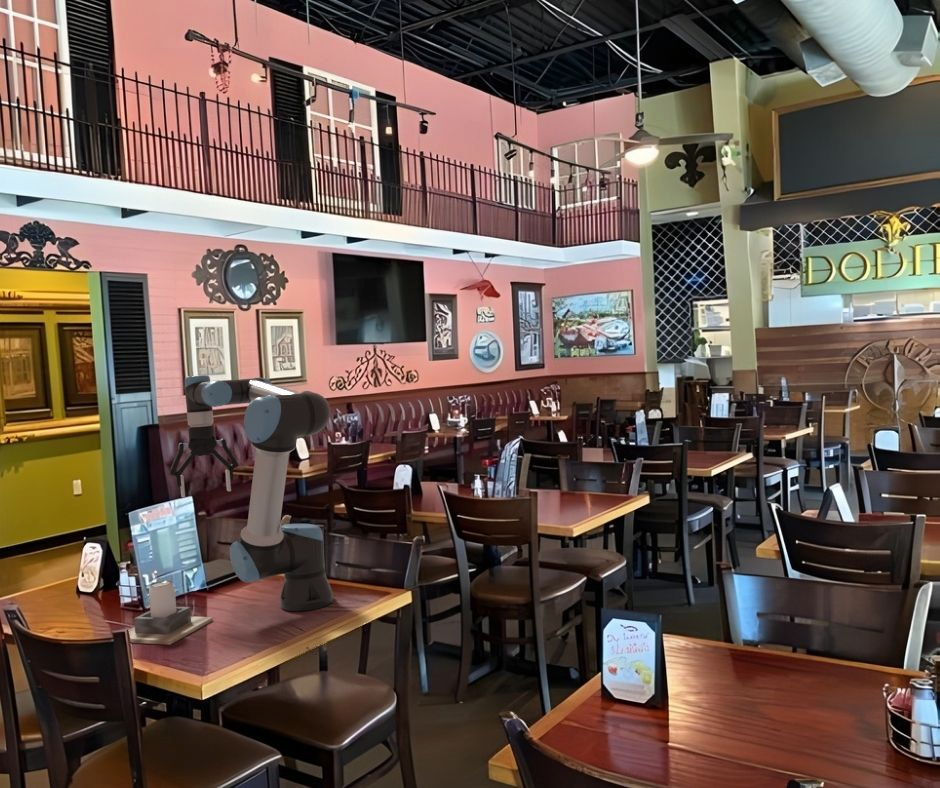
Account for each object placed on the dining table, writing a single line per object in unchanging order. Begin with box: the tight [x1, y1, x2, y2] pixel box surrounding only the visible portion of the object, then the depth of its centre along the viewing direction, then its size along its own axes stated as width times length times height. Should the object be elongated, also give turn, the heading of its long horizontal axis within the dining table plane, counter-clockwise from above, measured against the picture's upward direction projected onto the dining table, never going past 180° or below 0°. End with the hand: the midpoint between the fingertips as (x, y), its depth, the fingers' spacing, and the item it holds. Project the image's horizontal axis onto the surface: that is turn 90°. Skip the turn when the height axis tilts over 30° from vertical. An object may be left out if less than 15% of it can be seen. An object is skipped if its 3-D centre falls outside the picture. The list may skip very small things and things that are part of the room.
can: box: [148, 579, 177, 618], centre depth 207 cm, size 6×6×12 cm
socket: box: [127, 606, 214, 645], centre depth 207 cm, size 18×18×5 cm
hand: (206, 494), depth 238 cm, fingers open, 13 cm apart
